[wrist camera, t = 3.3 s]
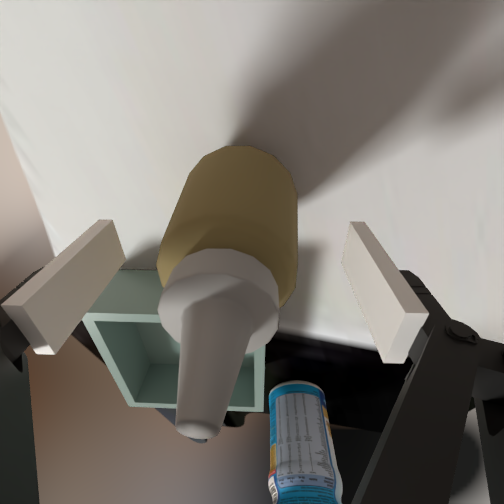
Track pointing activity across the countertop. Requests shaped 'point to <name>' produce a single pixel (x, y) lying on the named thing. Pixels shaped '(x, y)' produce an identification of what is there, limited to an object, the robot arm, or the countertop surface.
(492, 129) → the countertop surface
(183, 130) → the countertop surface
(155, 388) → the box
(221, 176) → the squeeze bottle
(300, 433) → the beverage bottle
